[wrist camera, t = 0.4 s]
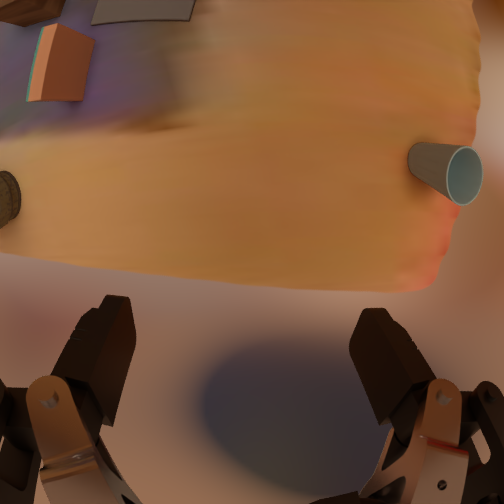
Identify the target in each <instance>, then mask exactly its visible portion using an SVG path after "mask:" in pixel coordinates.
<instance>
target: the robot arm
mask: <svg viewBox="0 0 504 504" xmlns="http://www.w3.org/2000/svg"><path fill="white" fill-rule="evenodd" d="M135 345H136V329H135V324H134V319H133V313H132V307H131V302H130V299H129V297H125V296H116V295H106V296H105V298H104V299H103V301H102V303H101V305H100V306H99V308H91V309H90V310H89V311H88V312H87V313H85V314H84V315H83V316H82V317H81V318H80V320H79V322H78V323H77V325H76V327H75V330H74V331H73V333H72V334H71V336H70V339H69V340H68V342H67V343H66V345H65V347H64V349H63V351H62V353H61V355H60V357H59V359H58V361H57V363H56V365H55V367H54V369H53V371H52V373H51V374H50V375H48V376H42V377H40V378H38V379H37V380H35V381H34V382H33V383H32V384H31V385H30V386H29V388H11V387H6V386H5V385H4V383H3V382H2V380H1V379H0V442H1V438H2V436H3V437H4V441H3V444H2V448H1V451H0V504H33V503H34V496H35V489H36V483H37V478H38V472H39V468H40V463H41V459H42V460H43V464H44V466H43V468H41V469H40V473H39V474H40V479H41V482H42V485H43V487H44V490H45V492H46V494H47V497H48V499H49V501H50V503H51V504H142V503H141V501H140V500H139V498H138V497H137V496H136V494H135V493H134V492H133V491H132V489H131V488H130V487H129V486H128V484H127V483H126V481H125V480H124V478H123V477H122V475H121V473H120V472H119V470H118V468H117V466H116V465H115V463H114V461H113V460H112V458H111V456H110V454H109V452H108V450H107V448H106V446H105V445H104V442H103V440H102V438H101V436H100V435H99V432H100V428H101V425H102V424H104V425H108V426H112V427H113V424H114V420H115V416H116V412H117V409H118V405H119V401H120V397H121V393H122V390H123V387H124V383H125V380H126V376H127V372H128V369H129V366H130V362H131V360H132V356H133V353H134V350H135ZM349 352H350V356H351V358H352V360H353V363H354V365H355V368H356V370H357V372H358V374H359V377H360V379H361V382H362V384H363V386H364V389H365V391H366V394H367V396H368V399H369V401H370V404H371V406H372V408H373V411H374V414H375V416H376V419H377V421H378V424H379V425H384V424H388V423H392V425H393V427H392V429H391V430H390V432H389V434H388V437H387V440H386V443H385V446H384V449H383V451H382V454H381V457H380V460H379V462H378V465H377V467H376V470H375V472H374V474H373V476H372V477H371V479H370V480H369V481H368V482H367V483H366V485H365V486H364V487H363V489H362V491H361V492H360V494H359V495H358V491H355V492H351V493H347V494H343V495H339V496H334V497H329V498H324V499H319V500H317V501H315V502H312V503H310V504H504V396H503V395H502V393H501V391H500V389H499V388H498V387H497V386H496V385H494V384H493V383H491V382H489V381H483V382H481V383H480V384H479V385H478V386H477V388H475V390H474V391H473V392H471V391H459V389H458V388H457V386H456V385H455V384H454V383H452V382H451V381H449V380H446V379H442V378H439V379H437V378H436V376H435V375H434V373H433V372H432V370H431V368H430V367H429V365H428V363H427V362H426V360H425V359H424V357H423V355H422V354H421V352H420V351H419V350H417V346H416V345H415V343H414V342H413V341H412V339H411V337H410V336H409V334H408V333H407V331H406V330H405V329H404V328H403V327H402V326H401V325H400V324H398V323H397V322H396V321H394V320H393V319H392V317H391V316H390V314H389V313H388V311H387V310H386V309H385V308H366V309H364V310H363V311H362V313H361V315H360V317H359V320H358V322H357V325H356V327H355V330H354V332H353V334H352V337H351V339H350V343H349ZM479 429H481V431H482V433H483V435H484V437H485V439H486V442H487V444H488V446H489V449H490V452H491V456H490V459H489V461H488V462H487V463H486V464H483V463H482V462H481V460H480V457H479V455H478V453H477V450H476V448H475V445H474V443H473V441H472V438H471V436H473V435H474V434H475V433H476V432H477V431H478V430H479Z"/></svg>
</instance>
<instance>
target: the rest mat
mask: <svg viewBox="0 0 504 504" xmlns="http://www.w3.org/2000/svg"><path fill="white" fill-rule="evenodd" d="M194 3H195V0H99V1H98V4H97V6H96V9H95V12H94V15H93V18H92V22H91V25H92V26H94V25H102V24H110V23H120V22H134V21H189V20H190V17H191V13H192V10H193V7H194Z"/></svg>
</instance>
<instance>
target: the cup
mask: <svg viewBox="0 0 504 504" xmlns="http://www.w3.org/2000/svg"><path fill="white" fill-rule="evenodd" d="M408 166H409V169H410V171H411V173H412V174H413V175H415V176H416V177H417V178H419V179H420V180H422V181H423V182H425V183H427V184H428V185H430V186H431V187H433V188H434V189H436V190H437V191H438V192H440V193H441V194H443V195H444V196H446V197H447V198H448V199H450V200H451V201H453V202H454V203H455V204H457V205H460V206H465V205H467V204H470V203H471V202H472V201H473V200H474V199H475V198H476V197H477V195H478V193H479V191H480V189H481V186H482V182H483V165H482V161H481V158H480V156H479V154H478V153H477V152H476V150H474V149H473V148H472V147H469V146H461V145H449V144H435V143H418V144H415V145H414V146H413V147H412V148H411V150H410V152H409V155H408Z"/></svg>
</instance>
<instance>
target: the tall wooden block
mask: <svg viewBox="0 0 504 504" xmlns="http://www.w3.org/2000/svg"><path fill="white" fill-rule="evenodd" d="M65 1H66V0H0V21H2V22H7V23H11V24H15V25H18V26H22V27H26V26H29V25H32V24H35V23H38V22H41V21H45V20H48V19H52V18H55V17H59V16H60V14H61V11H62V9H63V6H64V3H65Z"/></svg>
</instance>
